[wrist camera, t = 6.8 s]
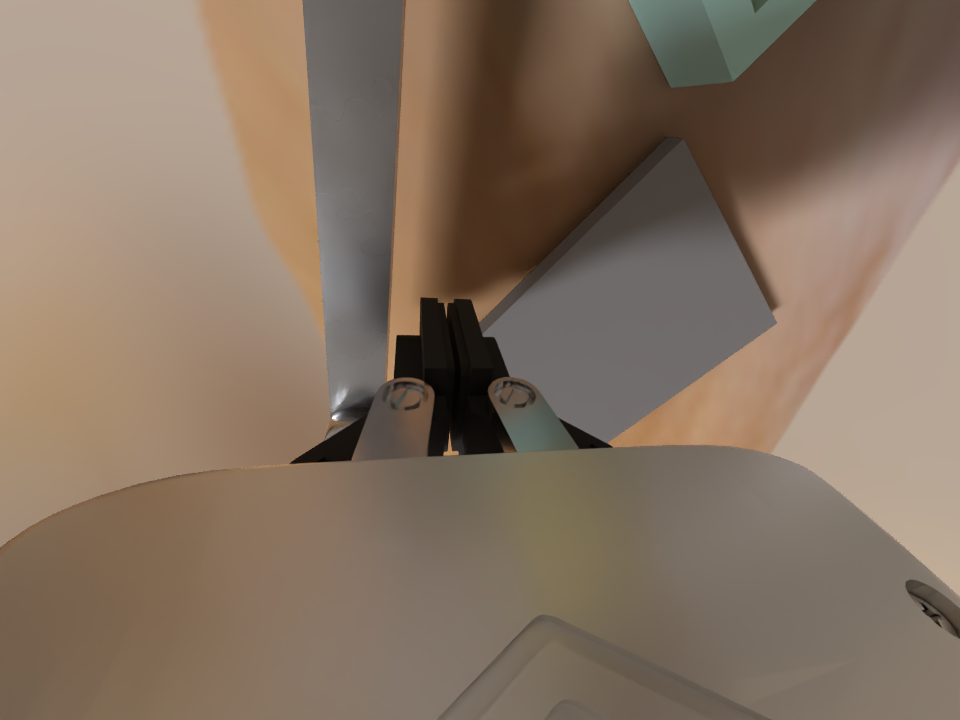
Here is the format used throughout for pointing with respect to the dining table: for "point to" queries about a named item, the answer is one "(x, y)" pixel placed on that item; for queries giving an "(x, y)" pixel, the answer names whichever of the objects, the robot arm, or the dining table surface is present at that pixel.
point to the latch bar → (355, 186)
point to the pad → (632, 300)
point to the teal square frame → (712, 35)
